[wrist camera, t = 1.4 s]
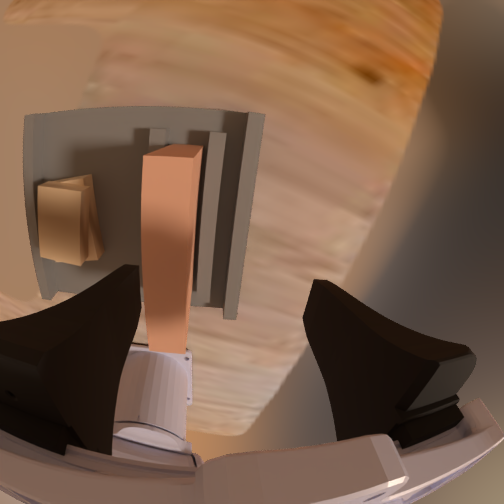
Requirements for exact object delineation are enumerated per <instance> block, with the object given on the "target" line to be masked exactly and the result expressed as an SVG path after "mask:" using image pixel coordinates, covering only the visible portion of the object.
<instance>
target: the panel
mask: <svg viewBox="0 0 504 504" xmlns="http://www.w3.org/2000/svg"><path fill="white" fill-rule="evenodd" d="M203 147H204V146H201V145H187V144H172V145H169V146H166V147H164V148H161V149H158V150H156V151H153V152H151V153H148V154H146V155H143V168H142V192H141V252H142V276H143V292H144V305H145V317H146V327H147V336H148V344H149V351H155V352H165V353H177V354H186V342H187V331H188V321H189V312H190V302H191V294H192V285H193V272H194V252H195V236H196V222H197V209H198V197H199V186H200V175H201V165H202V156H203Z"/></svg>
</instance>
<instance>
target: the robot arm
mask: <svg viewBox="0 0 504 504" xmlns="http://www.w3.org/2000/svg"><path fill="white" fill-rule="evenodd" d="M141 308H142V307H141V293H140V273H139V265H130V264H124V265H122V266H121V267H119V268H117V269H116V270H114V271H113V272H112V273H110V274H109V275H107V276H106V277H104V278H103V279H101V280H100V281H98V282H97V283H95V284H94V285H92V286H90V287H89V288H87V289H85V290H84V291H82V292H80V293H79V294H77V295H75V296H73V297H72V298H70V299H68V300H66V301H64V302H61V303H59V304H57V305H55V306H52V307H50V308H47V309H45V310H42V311H39V312H37V313H34V314H30V315H27V316H24V317H20V318H16V319H12V320H7V321H1V322H0V490H1V491H3V492H5V493H7V494H8V495H10V496H12V497H14V498H15V499H17V500H19V501H21V502H23V503H25V504H411V503H413V502H415V501H417V500H419V499H420V498H422V497H424V496H426V495H428V494H430V493H431V492H433V491H435V490H437V489H438V488H440V487H442V486H443V485H445V484H447V483H448V482H450V481H452V480H453V479H455V478H456V477H457V476H459V475H461V474H462V473H464V472H465V471H467V470H468V469H469V468H471V467H472V466H473V465H475V464H476V463H477V462H478V461H480V460H481V459H482V458H483V457H484V456H486V455H487V454H488V453H489V452H490V451H491V450H492V449H494V448H495V447H496V446H497V445H498V444H499V443H500V442H501V441H502V440H503V439H504V433H503V432H502V430H501V429H500V427H499V425H498V424H497V423H496V421H495V419H494V418H493V416H492V415H491V414H490V412H489V411H488V409H487V408H486V406H485V405H484V403H483V402H482V400H481V399H480V398H477V399H475V400H473V401H471V402H469V403H467V404H465V405H464V406H462V407H461V408H460V409H459V408H458V406H457V405H456V404H457V403H458V402H459V398H458V396H457V395H456V393H457V392H458V391H459V389H460V388H461V387H462V386H463V384H464V383H465V382H466V380H467V379H468V378H469V376H470V375H471V373H472V371H473V369H474V367H475V365H476V355H475V354H474V353H473V352H472V351H471V349H470V348H469V347H467V346H466V345H462V344H457V343H452V342H448V341H443V340H440V339H436V338H433V337H430V336H427V335H424V334H421V333H418V332H416V331H414V330H411V329H409V328H406V327H404V326H402V325H400V324H398V323H396V322H394V321H392V320H390V319H388V318H386V317H384V316H382V315H381V314H379V313H378V312H376V311H374V310H373V309H371V308H369V307H368V306H366V305H365V304H363V303H362V302H360V301H358V300H357V299H356V298H354V297H353V296H351V295H350V294H348V293H347V292H346V291H344V290H343V289H341V288H340V287H338V286H337V285H335V284H333V283H332V282H330V281H328V280H318V279H314V280H313V284H312V288H311V291H310V294H309V298H308V301H307V305H306V308H305V311H304V315H303V323H304V327H305V331H306V335H307V338H308V341H309V344H310V346H311V348H312V351H313V354H314V356H315V359H316V361H317V363H318V366H319V368H320V371H321V373H322V376H323V379H324V381H325V384H326V387H327V392H328V396H329V400H330V404H331V408H332V413H333V418H334V424H335V430H336V436H337V442H332V443H326V444H319V445H313V446H306V447H298V448H289V449H278V450H265V451H252V452H243V453H235V454H226V455H223V456H220V457H217V458H214V459H211V460H208V461H206V462H205V463H204V462H203V460H202V459H201V457H200V456H199V455H198V454H196V453H192V444H191V443H190V442H186V411H187V405H192V352H191V351H190V350H187V349H186V354H177V353H165V352H155V351H149V346H144V345H136V344H132V341H133V338H134V335H135V332H136V329H137V326H138V322H139V317H140V312H141ZM185 357H188V358H185Z"/></svg>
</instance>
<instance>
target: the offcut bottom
mask: <svg viewBox="0 0 504 504" xmlns="http://www.w3.org/2000/svg"><path fill="white" fill-rule="evenodd" d="M54 182H62V183H70V184H77V185H85V186H91V189H90V203H89V230H88V256H89V257H88V258H87V259H86V260H85V261H91V260H98V259H99V258H100V257H101V256H102V254H103V253H104V252H105V251H104V246H103V241H102V236H101V231H100V226H99V220H98V214H97V208H96V202H95V195H94V188H93V180H92V174H89V175H83V176H77V177H72V178H66V179H61V180H56V181H54ZM55 261H56V260H55ZM56 262H60V261H56Z"/></svg>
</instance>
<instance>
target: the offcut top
mask: <svg viewBox="0 0 504 504" xmlns="http://www.w3.org/2000/svg"><path fill="white" fill-rule="evenodd" d="M90 189H91V186H85V185H77V184H70V183H62V182H54V181H48V182H45V183H43V184H41V185H39V186H38V233H39V247H40V257H43V258H47V259H51V260H56V261H60V262H64V263H69V264H73V265H78V266H81V265H82V264H83V263H84V261H85V260H86V259H87V258H88V257H89V256H88V230H89V203H90Z"/></svg>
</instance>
